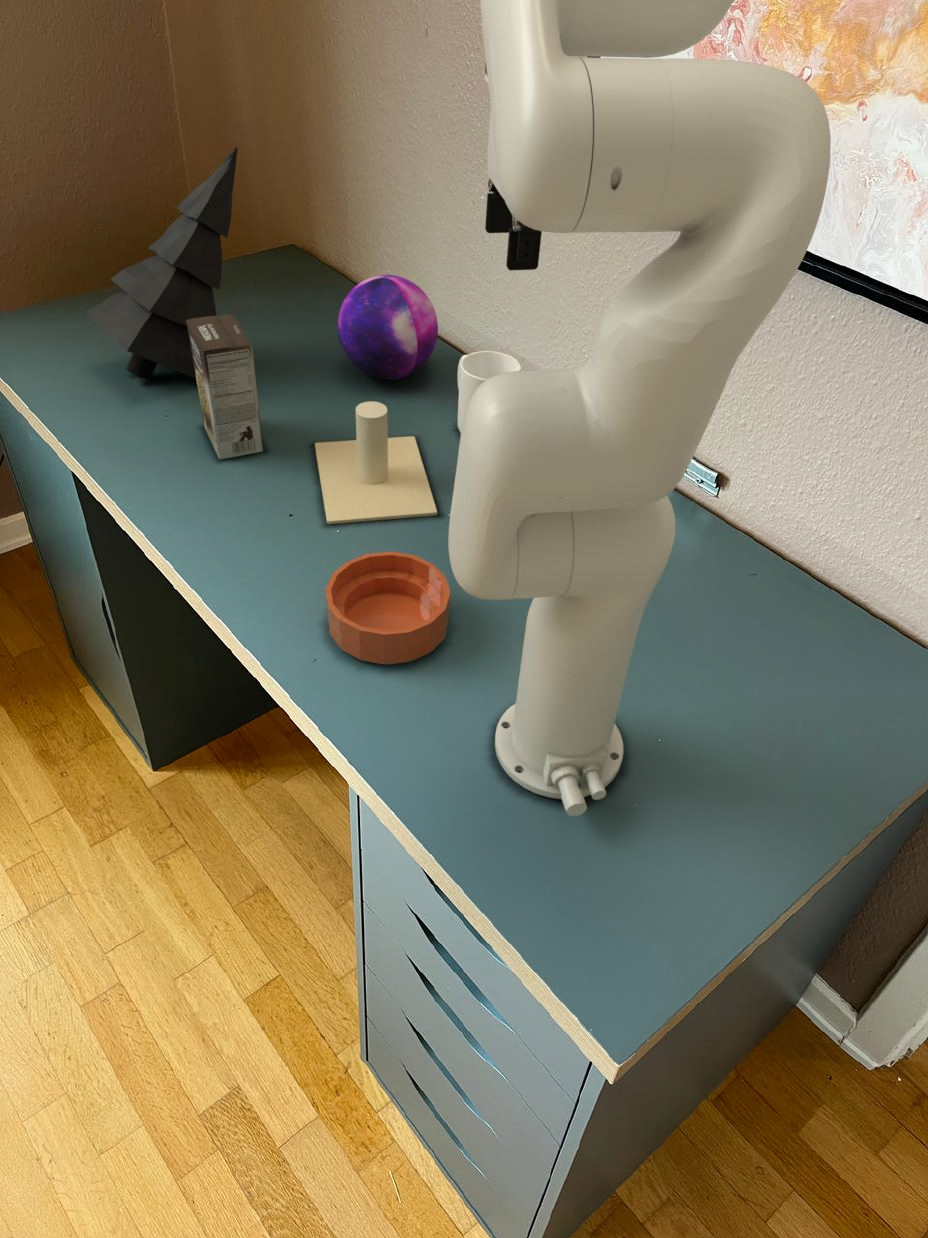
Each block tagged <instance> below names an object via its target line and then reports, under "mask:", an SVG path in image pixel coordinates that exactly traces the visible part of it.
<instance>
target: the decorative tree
mask: <svg viewBox="0 0 928 1238" xmlns="http://www.w3.org/2000/svg"><path fill="white" fill-rule="evenodd" d="M238 150H239V149H238V147H237V146H234V147H233V148H232V150H231V151H230V152H229V154H228V155H227V157H225V159H224V160H223V162H222V163H221V164H220V166H218V168H217V169H216V170H214V172H212V174H211V175H210V176H209V177H208V178H207V179H206V180H205V181H204V182H203V183H201V184H200V185H198V186H197V187H196V188H195V189H194V190H193V191H192V192H190V193H189V194H188V195H187V196H186V197H185V198H184V199H183V200H182V201H181V203H180V204H178V206H176V209H177V210H178V211H179V212H181V213H182V214H181V215H180V216H179V217H178V218H177V219H175V221H173V222H172V223H171V225H170V226H169V227H168V228H167V229H166V230H165V232H164V233H163V234H162V235H161V236H160V237H159V238H158V239H157V240H156V241H154V242H153V243H152V244H151V245H149V246H148V247H147V249H148V250H151V251H154V252H155V253H156V254H154V255H153V256H150V257H149V258H146V259H144V260H142V261H140V262H138V263H135V264H133V265H130V266H128V267H126V268H123V269H122V270H120V271H119V272H118V273H117V274H115V275H114V276H113V277H112V278H110V280H111V281H112V282H113V283H115V284H116V285H117V286H118V287H120V288H121V289H122V291H120V292H118V293H115V294H113V295H110V296H109V297H108V298H106V299H105V300H103V301H102V302H100V303H99V304H98V305H96V306H94V307H91V308H90V309H88V310H86V311H85V312H84V313H85V315H86V316H87V317H88V318H90V319H91V320H92V322H94V323H95V325H96V326H97V327H98V328H99V329H100V330H101V331H102V333H103V334H105V335H106V336H108V337H109V338H110V339H112V340H113V341H114V342H117V344H119V345H120V347H122V348H123V349H124V350H125V351H126V352H129V353H130V354H131V356H130V358H129V361H128V364H127V365H126V370H127V371H128V372H129V373H130V374H132V375H134V376H135V377H138V378H140V379H142V380H145V381H151V379H152V376H153V374H154V372H155V370H156V368H157V365H158V364H159V365H161V366H164V367H166V368H169V369H170V370H173V371H176V372H178V373H181V374H183V375H186V376H189V377H191V378H194V379H196V374H195V369H194V363H193V357H192V351H191V345H190V340H189V334H188V328H187V323H186V320H189V319H194V318H201V317H207V316H217V309H216V302H215V297H214V296H215V295H214V291H213V288H214V289H216V290H220V288H221V280H222V270H223V248H222V240H221V236H222V237H224V238H226V239H228V236H229V231H230V226H231V220H232V207H233V191H234V186H235V185H234V184H235V176H236V169H237V168H236V167H237V158H238Z"/></svg>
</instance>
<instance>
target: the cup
mask: <svg viewBox="0 0 928 1238" xmlns="http://www.w3.org/2000/svg"><path fill="white" fill-rule="evenodd" d="M521 369H522V367H521V364H520V362H519V361H518V360H517V359H516V358H515V357H513V356H511V355H510V354H507V353H504V352H500V351H495V350H481V351H475V352H471V353H469V354H464V355H462V356H461V357H460V359H459V361H458V366H457V375H456V377H457V389H458V400H457V401H458V403H457V429H458V431H459V433H460V434H461V431H462V426H463V421H464V416H465V412H466V409H467V405H468V403H469V401H470V399H471V397H472V395H473V394H474V392H475V391H476V389H477V388H478V387H479V386H480V385H481V384H482V383H483V382H485V381H486V380H488V379H489V378H491V377H494V376H496V375H499V374H503V373H508V372H515V371H521Z"/></svg>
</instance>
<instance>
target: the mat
mask: <svg viewBox="0 0 928 1238" xmlns="http://www.w3.org/2000/svg"><path fill="white" fill-rule="evenodd" d="M314 449H315V456H316V461H317V468H318V473H319V475H318V476H319V481H320V487H321V492H322V500H323V506H324V507H323V508H324V512H325V518H326V524H327V525H338V524H349V523H360V522H370V521H371V522H373V521H385V520H395V519H398V520H399V519H408V518H419V517H420V518H421V517H422V518H423V517H433V516H438V510H437V507H436V503H435V500H434V497H433V493H432V490H431V486H430V483H429V479H428V476H427V473H426V470H425V465H424V464H423V460H422V457H421V454H420V449H419V446H418V443H417V439H416V437H415V436H414V435H413V436H411V435H409V436H397V437H396V436H395V437H388V478H387V479H386V480H385V481H384V482H382V483H379V484H367V483H364V482H362V481H361V480H360V479H359V478H358V468H357V439H353V440H352V439H351V440H337V441H322V442H314Z"/></svg>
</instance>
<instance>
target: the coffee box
mask: <svg viewBox="0 0 928 1238" xmlns="http://www.w3.org/2000/svg"><path fill="white" fill-rule="evenodd" d="M186 323H187V328H188V334H189V340H190V345H191V351H192V357H193V363H194V369H195V374H196V378H195V379H196V385H197V391H198V399H199V403H200V409H201V415H202V421H203V427H204V430H205V432H206V434H207V436H208V438H209V440H210V442H211V444H212V447H213V449H214V451H215V454H216V455H217V458H218V459H219V460H225V459H229V458H235V457H240V456H246V455H251V454H258V453H261V452H262V453H263V452H264V447H263V445H264V444H263V437H262V427H261V419H260V409H259V399H258V398H259V397H258V388H257V379H256V371H255V361H254V352H253V344H252V341H251V340H250V338H249V337H248V336H247V333H246V332H245V331H244V329H243V327H242V326H241V324H240V322H239V321H238V318H237V317H236V316H235V314H234V313H229V314H224V315H216V316H207V317H201V318H194V319H189V320H186Z"/></svg>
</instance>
